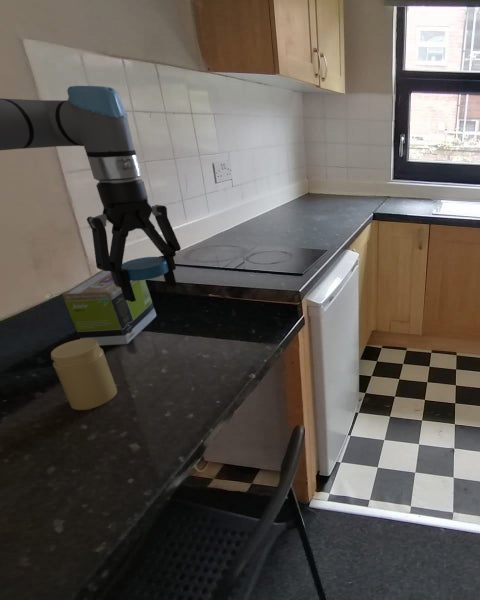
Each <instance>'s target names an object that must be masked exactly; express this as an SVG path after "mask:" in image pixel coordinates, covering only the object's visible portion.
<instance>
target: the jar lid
mask: <svg viewBox="0 0 480 600" xmlns="http://www.w3.org/2000/svg"><path fill="white" fill-rule="evenodd" d="M122 269H125V270H127V273H128V276H129V279H130V280H131V281H138V280H145V281H146V280H147V281H148V280H152V279H156V278H159V277H162V276H164V274H166V273H167V272H168V266H167V262H166V259H165V258H163V257H159V256H146V257H139V258H134V259H131V260H128V261H125V262H122Z"/></svg>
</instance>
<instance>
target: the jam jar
mask: <svg viewBox="0 0 480 600" xmlns="http://www.w3.org/2000/svg"><path fill="white" fill-rule="evenodd" d="M50 358H51V360H52V361H53V362H52V366H53V369H54V372H55V374H56V376H57V378H58V381H59V383H60V385H61V388H62V390H63V392H64V395H65V398H66V399H67V402H68V404H69V406H70V408H71V409H73V410H75V411H86V410H91V409H95V408H98V407H101V406H104V405H105V404H106V403H108V402H110V401H111V400H112V399H114V398H115V397H116V396H117V393H118V388H117V385H116V382H115V380H114V376H113V374H112V371H111V368H110V365H109V363H108V360H107V358H106V354H105V351H104V349H103V348H102V347H101V345H99V343H98V341H97V340H96V339H91V338H86V339H80V338H79V339H75V340H71V341H68V342H64V343H62V344H60V345H59V346H57V347H55V348H54V349H53V350H52V351H51V352H50Z"/></svg>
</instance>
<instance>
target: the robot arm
mask: <svg viewBox="0 0 480 600" xmlns="http://www.w3.org/2000/svg"><path fill="white" fill-rule="evenodd" d="M66 93H67V95H68V98H67V99H66V100H59V99H57V100H56V99H54V100H52V99H49V100H48V99H47V100H44V99H24V98H23V99H22V98H21V99H20V98H19V99H18V98H0V151H10V150H23V149H24V150H25V149H38V148H39V149H42V148H53V147H56V148H57V147H83V148H84V150H85V154H86V157H87V160H88V163H89V167H90V170H91V174H92V177H93V179H94V180H96V181H98V182H97V183H96V190H97V192H98V195H99V199H100V202H101V204H102V207H103V210H102V214H98V215H96V216H88V217H87V218H86V221H87V224H88V226H89V227H90V230H91V233H92V234H91V235H92V241H93V242H92V243H93V248H94V249H93V251H94V258H95V264H96V266H95V267H96V268H97V270H99V271H102V270H103V271H110V272H111V275H112V278H113V281H114V284H115V285H116V286H118V287H121V290H122V293H123V296H124V299H125V300H128V301H131V302H133V301H136V299H135V296H134V293H133V289H132V286H131V283H130V279H129V276H128V273H127V270H125V269H122V264H123V263H124V254H125V248H126V243H127V237H129V233H130V232H133V231H135V230H142V231H143V232H144V233H145V235H146V236H147V238H148V239H149V240H150V241H151V242H152V244H153V245H154V246H155V247H156V248H157V250H158V251H159V253H160V254H161V255H159V256H158V257H163V258H165V259H166V262H167V266H168V272H167V273H166V274H164V275H163V277H164V282H165V285H166V286H168V287H171V288H175V287H176V288H177V287H178V285H177V281H176V277H175V272H174V271H176V269H177V266H176V263H175V262H176V261H175V258H174V257H176V255H177V252H180V251H181V250H182V247H181V246H180V245H181V244H180V242H179V241H178V238H177V236H176V233H175V231H174V229H173V226H172V224H171V222H170V219H169V218H168V208H167V206H166V205H161V204H155V205H151V204H150V203H149V199H148V197H149V196H148V192H147V188H146V185H145V182H144V181H143V179H140V178H141V177H142V170H141V167H140V162H139V159H138V155H137V152H136V149H135V146H134V142H133V136H132V133H131V128H130V124H129V120H128V113H127V111H126V109H125V107H124V103H123V100H122V97H121V95H120V93H119V91H118V90H117V89H115V88H113V87H110V86H99V85H72V86H71V85H70V86H69V87H67V89H66ZM152 215H153V216H154V219H155V221H156V223H157V225H158V227H159V230H160V232H161V234H162V235H161V234H160V233H159V231H157V229H156V226H155V225H154V224H153V222H152V221H151V219H150V217H151V216H152ZM107 221H108V222H109V223H110V224H111V225H112V226H111V235H112V237H111V243H110V248H109V244H108V243H109V241H108V235H107V229H106V226H107ZM162 236H163V237H162Z"/></svg>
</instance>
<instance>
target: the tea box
mask: <svg viewBox="0 0 480 600" xmlns="http://www.w3.org/2000/svg"><path fill="white" fill-rule="evenodd" d="M130 283H131V286H132V289H133V293H134V296H135V299H136V301H133V302H131V301H128V300H125V299H124V296H123V293H122V290H121V287H118V286H116V285H115V284H114V281H113V278H112V275H111V272H110V271H103V270H99V271H98V272H96V273H95V274H93V275H92V276H90V277H88V278H87V279H85V280H83V281H82V282H80V283H78V284H76V285H75V286H74V287H72V288H70V289H69V290H68V291H65V292H64V293H62V298H63V301H64V303H65V305H66V308H67V311H68V312H69V315H70V318H71V320H72V322H73V324H74V327H75V330H76V332H77V334H78V336H79V339H86V338H91V339H96V340H97V341H98V343H99V346H116V345H117V346H118V345H127V344H129V343H130V342H131V341H132V340H133V339H134V338H136V336H138V335H139V334H140V333H141V332H142V331H143V330H144V329H145V328H146V327H147V326H148V325H149V324H150V323H152V321H154V319H155V318H157V313H156V308H155V307H154V303H153V299H152V296H151V293H150V289H149V287H148V284H147V281H146V280H138V281H131V280H130Z"/></svg>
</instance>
